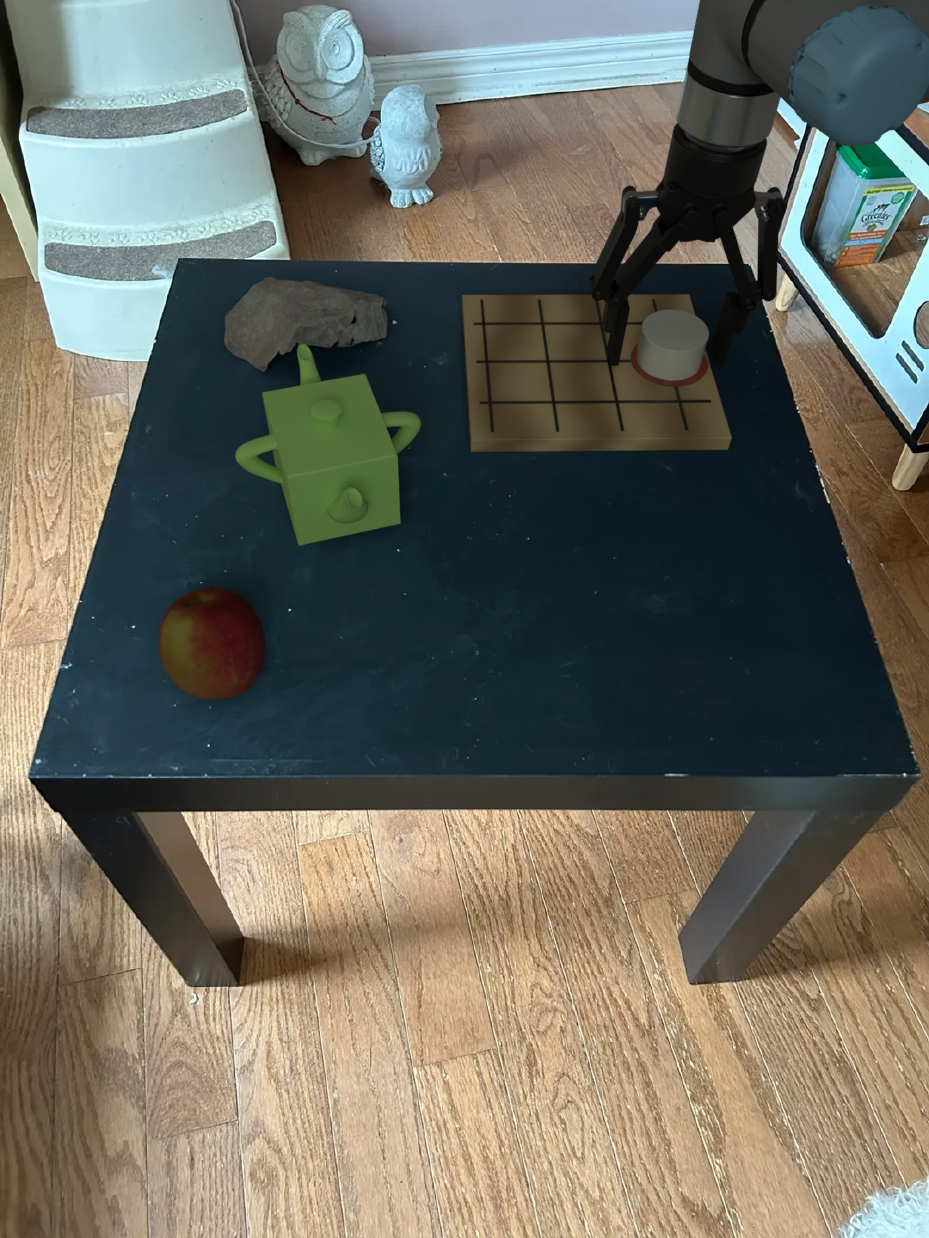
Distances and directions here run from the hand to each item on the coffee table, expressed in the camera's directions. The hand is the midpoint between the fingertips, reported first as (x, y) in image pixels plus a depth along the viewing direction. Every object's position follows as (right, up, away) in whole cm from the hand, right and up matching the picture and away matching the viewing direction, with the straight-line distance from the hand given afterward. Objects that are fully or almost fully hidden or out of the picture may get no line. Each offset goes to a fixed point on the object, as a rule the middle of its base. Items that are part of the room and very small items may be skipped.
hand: (664, 356), depth 95 cm
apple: (-38, -30, -21) cm, 53 cm away
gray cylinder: (0, 0, 0) cm, 1 cm away
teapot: (-31, -16, -10) cm, 36 cm away
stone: (-36, +2, +3) cm, 36 cm away
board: (-8, -1, +1) cm, 8 cm away
